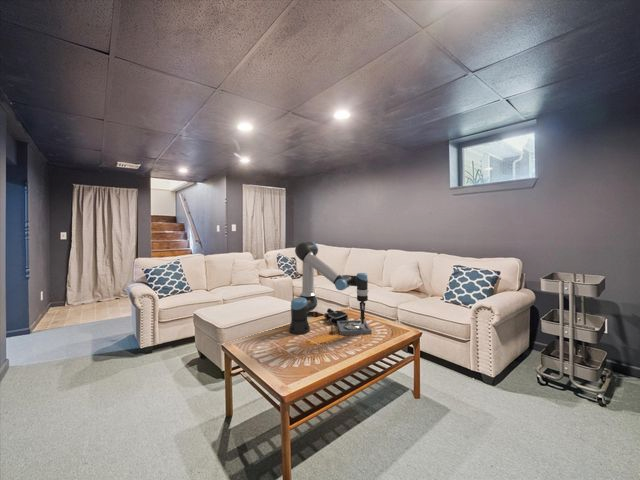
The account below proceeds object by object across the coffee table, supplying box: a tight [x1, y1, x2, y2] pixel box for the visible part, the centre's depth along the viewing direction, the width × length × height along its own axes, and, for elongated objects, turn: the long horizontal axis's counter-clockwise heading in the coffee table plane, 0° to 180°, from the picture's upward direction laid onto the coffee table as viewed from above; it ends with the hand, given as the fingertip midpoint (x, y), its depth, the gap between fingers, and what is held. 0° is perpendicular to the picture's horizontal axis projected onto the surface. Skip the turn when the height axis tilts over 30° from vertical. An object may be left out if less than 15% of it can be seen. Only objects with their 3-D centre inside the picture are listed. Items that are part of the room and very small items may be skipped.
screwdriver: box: [331, 323, 338, 335], centre depth 214 cm, size 3×16×3 cm, turn 4°
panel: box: [336, 319, 372, 336], centre depth 217 cm, size 22×22×3 cm
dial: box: [345, 323, 362, 330], centre depth 217 cm, size 14×13×6 cm
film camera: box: [323, 307, 349, 325], centre depth 236 cm, size 8×16×15 cm
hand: (362, 327), depth 208 cm, fingers closed
